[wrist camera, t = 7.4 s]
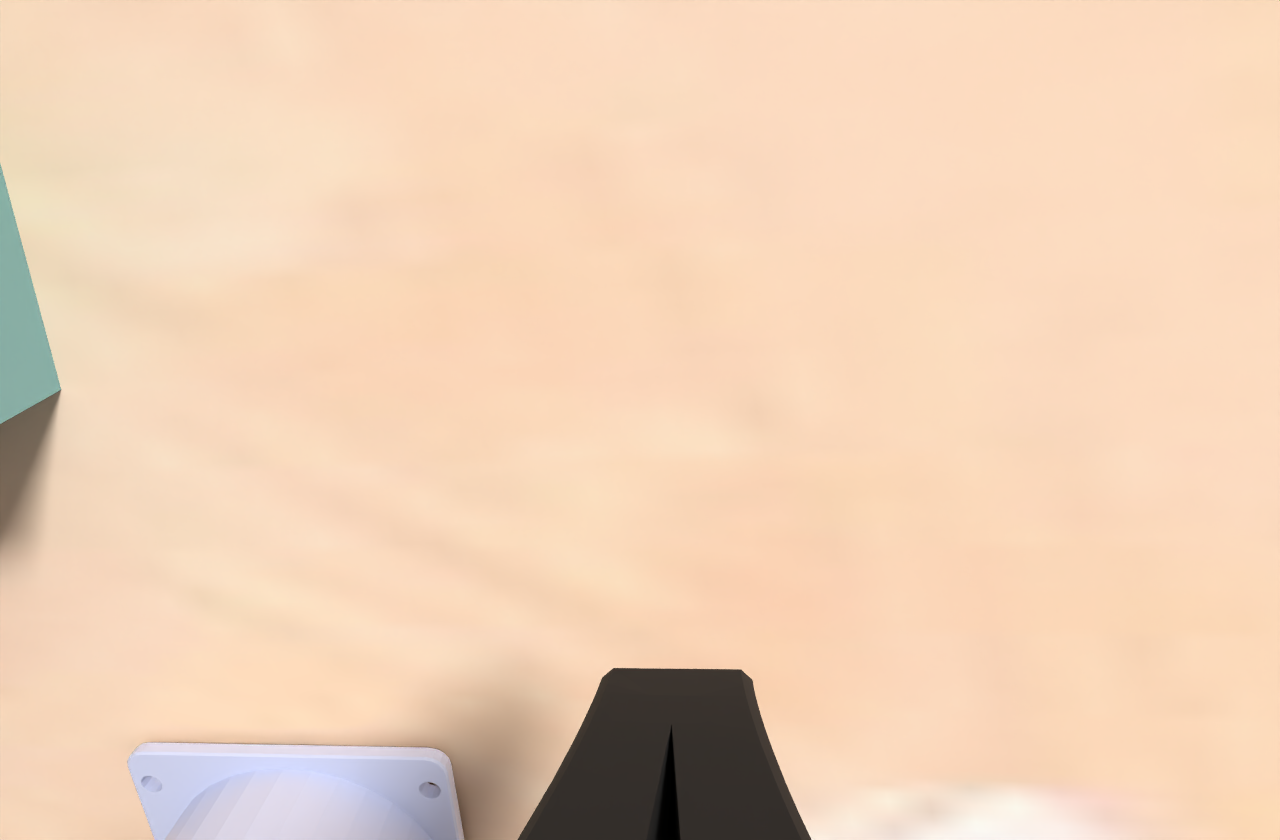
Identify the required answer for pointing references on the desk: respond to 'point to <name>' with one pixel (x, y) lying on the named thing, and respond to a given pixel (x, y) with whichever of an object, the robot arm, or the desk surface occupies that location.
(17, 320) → the teal block
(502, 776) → the desk surface
